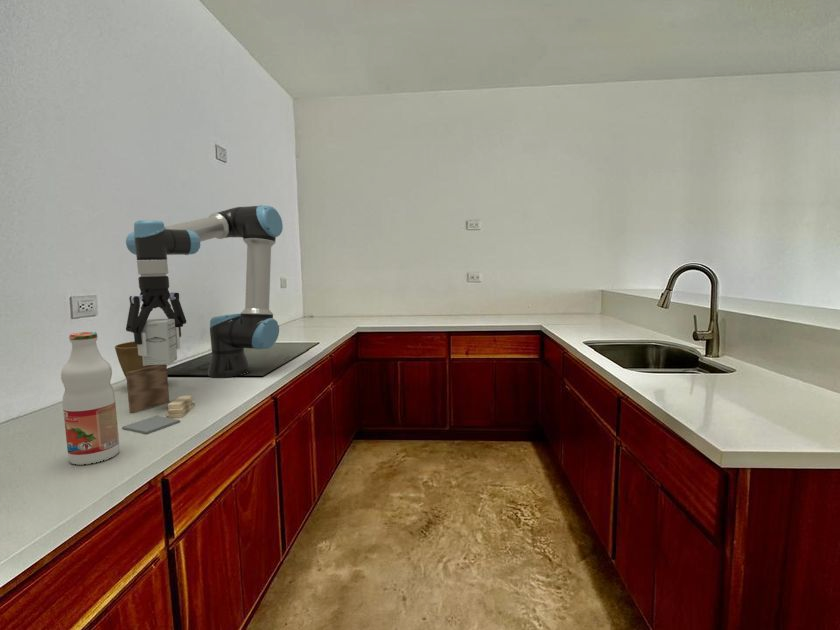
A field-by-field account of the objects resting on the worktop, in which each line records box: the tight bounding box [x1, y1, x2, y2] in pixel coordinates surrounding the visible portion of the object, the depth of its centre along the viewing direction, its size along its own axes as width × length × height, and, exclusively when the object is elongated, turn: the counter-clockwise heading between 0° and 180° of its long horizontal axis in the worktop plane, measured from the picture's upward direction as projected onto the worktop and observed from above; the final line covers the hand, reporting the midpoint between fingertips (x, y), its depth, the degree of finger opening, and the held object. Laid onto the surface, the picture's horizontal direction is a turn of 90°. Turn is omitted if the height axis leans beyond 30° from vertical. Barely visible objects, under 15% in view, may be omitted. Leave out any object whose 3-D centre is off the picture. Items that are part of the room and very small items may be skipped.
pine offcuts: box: [165, 394, 196, 419], centre depth 133 cm, size 11×4×4 cm, turn 8°
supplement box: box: [142, 318, 178, 366], centre depth 134 cm, size 7×7×13 cm
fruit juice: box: [60, 331, 120, 466], centre depth 101 cm, size 9×9×28 cm
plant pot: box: [114, 340, 157, 380], centre depth 158 cm, size 15×15×16 cm
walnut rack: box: [125, 364, 170, 414], centre depth 138 cm, size 12×1×12 cm, turn 156°
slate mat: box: [121, 415, 181, 435], centre depth 122 cm, size 10×10×1 cm
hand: (160, 351), depth 134 cm, fingers closed on supplement box, 10 cm apart
